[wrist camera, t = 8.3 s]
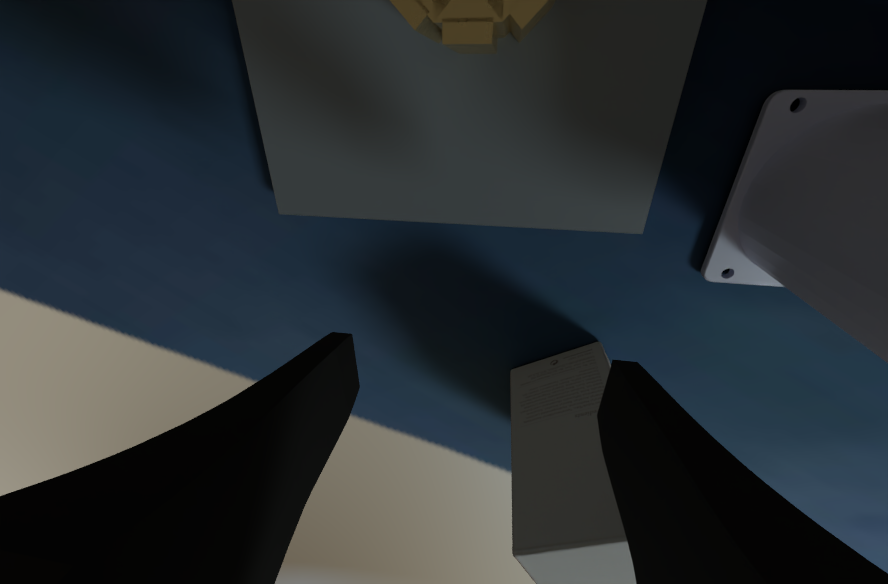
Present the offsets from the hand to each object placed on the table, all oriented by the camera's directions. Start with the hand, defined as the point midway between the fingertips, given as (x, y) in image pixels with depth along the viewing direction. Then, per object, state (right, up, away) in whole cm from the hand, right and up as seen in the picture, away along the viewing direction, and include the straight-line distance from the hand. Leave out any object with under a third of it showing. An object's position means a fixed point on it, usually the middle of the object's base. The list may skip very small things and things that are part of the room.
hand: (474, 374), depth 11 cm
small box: (+7, -4, +13) cm, 15 cm away
